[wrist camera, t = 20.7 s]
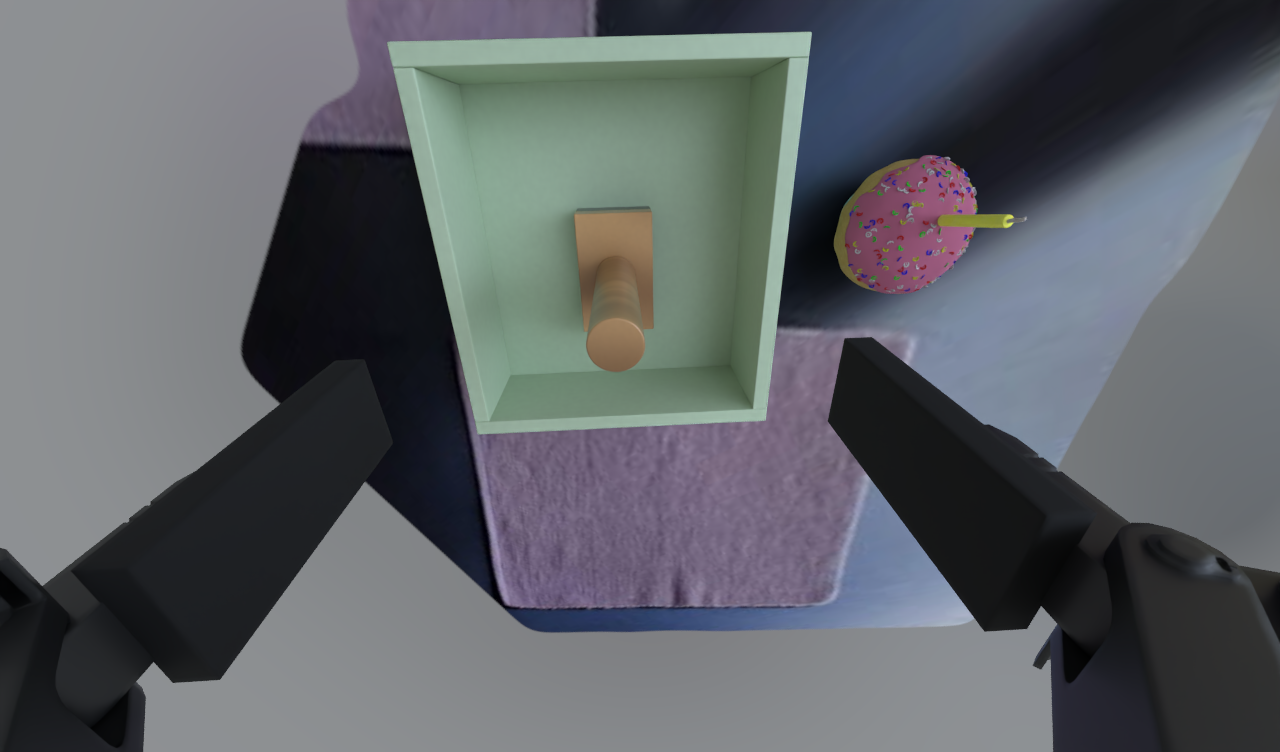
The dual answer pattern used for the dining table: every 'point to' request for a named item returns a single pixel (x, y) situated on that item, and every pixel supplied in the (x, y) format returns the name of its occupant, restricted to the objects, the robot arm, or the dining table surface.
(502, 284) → the tub
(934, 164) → the cupcake
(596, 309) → the wooden stamp
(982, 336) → the dining table surface
